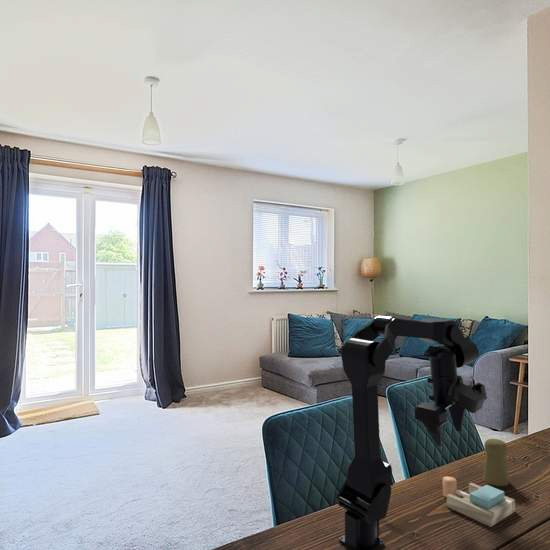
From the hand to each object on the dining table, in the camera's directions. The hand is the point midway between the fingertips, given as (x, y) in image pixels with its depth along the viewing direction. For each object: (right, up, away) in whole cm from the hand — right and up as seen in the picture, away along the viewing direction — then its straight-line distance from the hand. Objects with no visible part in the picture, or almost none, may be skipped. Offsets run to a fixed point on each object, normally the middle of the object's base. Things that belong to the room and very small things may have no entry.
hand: (449, 438), depth 105 cm
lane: (+5, -14, -6) cm, 16 cm away
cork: (+15, -14, +8) cm, 22 cm away
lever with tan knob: (+3, -14, -4) cm, 15 cm away
